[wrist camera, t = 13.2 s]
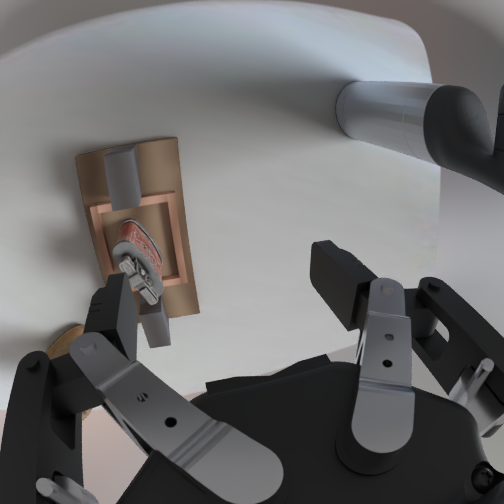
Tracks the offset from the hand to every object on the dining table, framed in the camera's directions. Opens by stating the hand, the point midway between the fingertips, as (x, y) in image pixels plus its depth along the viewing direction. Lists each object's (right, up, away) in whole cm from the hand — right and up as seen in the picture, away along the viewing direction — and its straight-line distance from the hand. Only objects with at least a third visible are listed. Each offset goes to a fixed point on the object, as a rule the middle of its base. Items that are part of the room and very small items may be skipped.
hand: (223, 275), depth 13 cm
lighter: (-13, +2, +26) cm, 29 cm away
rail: (-14, +3, +27) cm, 31 cm away
